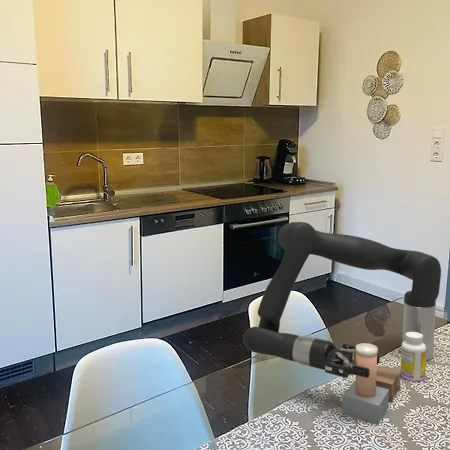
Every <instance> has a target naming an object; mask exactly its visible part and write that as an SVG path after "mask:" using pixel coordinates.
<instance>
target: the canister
mask: <svg viewBox="0 0 450 450" xmlns="http://www.w3.org/2000/svg"><path fill="white" fill-rule="evenodd" d="M355 346H356V363H355V365H357V366H361V367H365V368H369V370H370V375H369V377H368V378H366V377H362V376H357V375H355V381H356V394H358V395H359V396H362V397H374V396H375V395H376V377H377V366H378V364H377V355H378V351H379V350H378V349H379V348H378V346H376V345H374V344H373V343H364V342H363V343H358V344H356V345H355Z"/></svg>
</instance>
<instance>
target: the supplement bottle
mask: <svg viewBox="0 0 450 450" xmlns="http://www.w3.org/2000/svg"><path fill="white" fill-rule="evenodd" d="M405 338H406V341H404V342H403V341H402V343H401V346H400V347H401V350H400V352H401V353H400V355H401V356H400V357H401V358H400V359H401V360H400V371H401V377H402V378H404V379H405V380H408V381H412V382H420V381H423V380H425V378H426V367H427V366H426V362H427V360H426V346H425V344H424V343H422V340H423V335H422V334H420V333H417V332H407V333H406V334H405Z"/></svg>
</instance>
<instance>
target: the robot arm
mask: <svg viewBox="0 0 450 450" xmlns="http://www.w3.org/2000/svg"><path fill="white" fill-rule="evenodd" d="M277 241H278V243H279V245H280V246H281V247H282V249H283V250H284V254H283V257H282V259H281V262H280V264H279V267H278V268H277V270H276V272H275V273H274V275H273V277H272V278H271V280H270V281H269V283H268V284H267V286H266V288H265V290H264V293H263V295H262V297H261V301H260V303H259V307H258V309H257V316H258V317H259V323H258V326H251V327H248V328H247V330H245V332H244V333H243V336H242V337H243V338H242V341H243V345H244V347H245V348H246V349H247V350H248V351H251V352H253V353H256V354H262V355H268V356H273V357H278V358H281V359H283V360H287V361H291V362H295V363H298V364H300V365H303V366H306V367H311V368H314V369H319V370H323V371H324V372H325V373H326V374H330V375H334V376H337V377H341V378H343V379H345V378H346V379H348V378H349V376H352V377H353V375H355V376H356V375H357V376H362V377H366V378H368V377H369V375H370V370H369V368H365V367H361V366H357V365H356V345H352V344H348V343H343V344H342V348H340V347H339V348H337V347H336V346H335V344H334V343H333V341H330V340H326V339H322V338H321V339H320V338H315V337H312V336H306V335H297V334H293V333H287V332H280V326H281V325H280V324H281V319H282V316H283V313H284V312H285V309H286V305H287V303H288V301H289V298H290V296H291V293H292V290H293V288H294V285H295V284H296V281H297V278H298V276H299V275H300V273H301V271H302V269H303V267H304V265H305V263H306V261H307V260H308V258H309V257H310V255H313V256H318V257H321V258H324V259H327V260H330V261H333V262H336V263H339V264H342V265H346V266H348V267H353V268H357V269H361V270H367V271H369V270H370V271H379V270H380V271H381V270H383V271H389V272H390V273H391V272H392V273H395V274H397V275H400V276H403V277H405V278H407V279H410V280H411V281H412V282H411V283H412V284H411V285H412V286H411V290H408V291H406V292H405V293H404V296H403V317H402V318H403V319H402V320H403V321H402V324H403V325H402V343H403V342H404V341H406V338H405V334H406V333H407V332H417V333H420V334H422V335H423V340H422V343H424V344H425V346H426V361H429V360H431V359H433V357H434V347H435V346H434V344H435V328H436V327H435V325H436V324H435V321H436V306H437V305H436V303H437V298H438V296H439V295H440V287H441V279H442V278H441V277H442V268H441V267H442V266H441V263H440V261H439V259H438V258H437V257H435V256H432V254H431V255H430V254H427V253H425V252H421V251H417V250H410V249H409V250H408V249H400V248H393V247H390V246H388V245H386V244H383V243H381V242H378V241H375V240H372V239H368V238H364V237H361V236H356V235H350V234H342V233H330V232H323V231H319V230H316V229H315V228H314V227H313V226H312V224H310V223H308V222H306V221H305V222H304V221H291V222H288V223H286V224H284V225H283V226H282V227H281V228H280V229H279V230H278V233H277ZM380 359H381V357H380V355H379V354H377V365H378V364H380V361H381V360H380Z"/></svg>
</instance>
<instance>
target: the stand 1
mask: <svg viewBox="0 0 450 450" xmlns="http://www.w3.org/2000/svg"><path fill="white" fill-rule="evenodd" d="M389 403H390V402H389V389H385V388H381V387H377V386H376V395H375V396H374V397H362V396H359V395H358V394H356V380H354V381H352V383H351V384H350V386H349V387H348V388H347V389H346V391H345V392H344V393H343V395H342V415H344V416H347V417H350V418H354V419H357V420H361V421H365V422H367V423H370V424H375V425H378V426H379V425H380V423H381V422H382V419H383V418H384V416H385V414H386V413H387V411H388V409H389Z"/></svg>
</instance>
